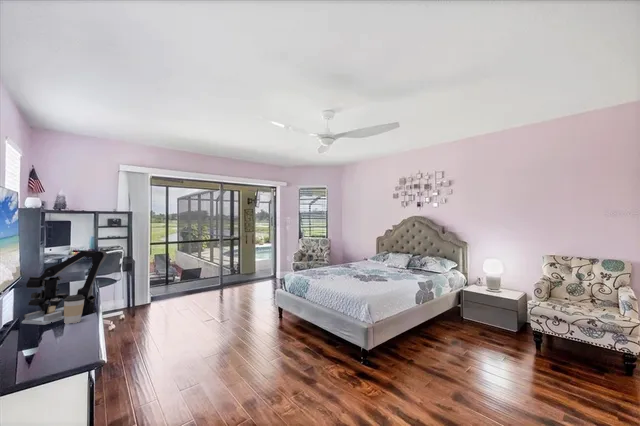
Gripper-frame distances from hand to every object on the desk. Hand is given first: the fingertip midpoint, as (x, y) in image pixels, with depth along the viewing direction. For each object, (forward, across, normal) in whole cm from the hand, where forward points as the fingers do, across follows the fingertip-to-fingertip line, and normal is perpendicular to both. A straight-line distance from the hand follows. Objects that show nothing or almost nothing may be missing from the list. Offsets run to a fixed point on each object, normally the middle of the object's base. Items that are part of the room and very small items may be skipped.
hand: (48, 313), depth 167 cm
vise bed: (+1, +9, +8) cm, 12 cm away
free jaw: (0, +9, +1) cm, 9 cm away
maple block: (+1, 0, 0) cm, 1 cm away
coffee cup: (+1, +8, +24) cm, 26 cm away
